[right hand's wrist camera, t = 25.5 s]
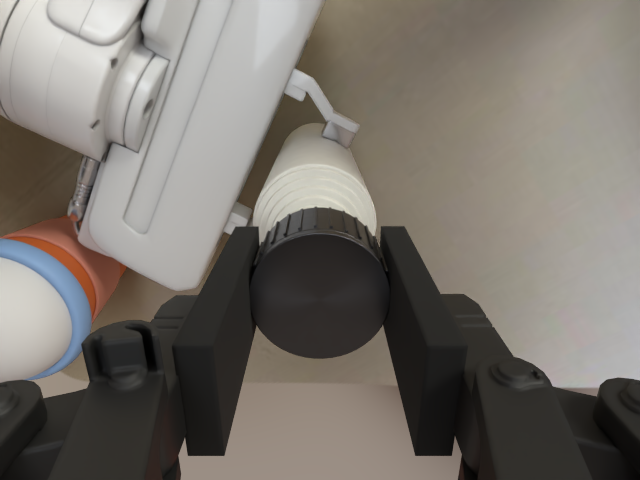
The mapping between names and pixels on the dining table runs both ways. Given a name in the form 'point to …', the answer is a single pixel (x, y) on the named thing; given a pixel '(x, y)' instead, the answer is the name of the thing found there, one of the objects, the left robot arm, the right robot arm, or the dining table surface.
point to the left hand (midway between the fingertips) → (328, 185)
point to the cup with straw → (49, 297)
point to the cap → (319, 284)
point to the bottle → (312, 181)
